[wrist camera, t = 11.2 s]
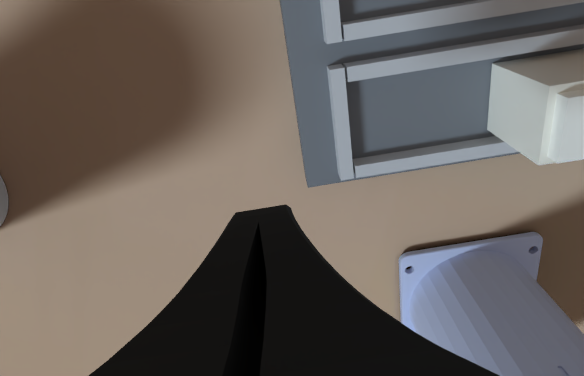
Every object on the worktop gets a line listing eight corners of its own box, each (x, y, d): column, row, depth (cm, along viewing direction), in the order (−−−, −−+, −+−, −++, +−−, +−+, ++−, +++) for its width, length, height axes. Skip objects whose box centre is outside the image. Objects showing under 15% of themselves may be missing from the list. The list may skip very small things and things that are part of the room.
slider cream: (573, 115, 19) (658, 154, 15) (487, 129, 19) (547, 172, 15) (585, 48, 18) (681, 71, 14) (492, 63, 18) (560, 90, 14)
